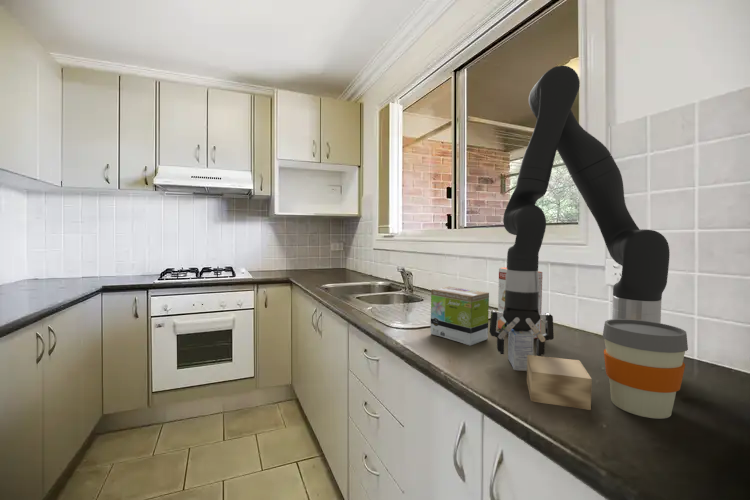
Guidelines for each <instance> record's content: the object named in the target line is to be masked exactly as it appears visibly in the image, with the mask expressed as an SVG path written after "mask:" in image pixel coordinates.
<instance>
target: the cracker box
mask: <svg viewBox="0 0 750 500" xmlns="http://www.w3.org/2000/svg"><path fill="white" fill-rule="evenodd" d="M506 273H507V266H506V267H498V295H497V296H498V297H497V299H498V300H497V301H498V302H497V303H498V304H497V309H498V310H497V312H503V311H504V309H505V281H506ZM538 275H539V303H538V312H539V314H542V306H543V305H542V302H543V272H542V271H539V270H538ZM505 322H506V320H505V319H504V317H501V318H500V320H498V321H497V329H499V330H500V329H501V328H502V326H503V325H504V324H505ZM535 326H536V327H537V328H538V330H539V331H540V332H541V333H542V319H540V320H539V321H538V322H537V323H536V325H535ZM529 331H530V333H531V334H532V335H533V337H534V340H535V339H538V337H537V336H536V335H535V333H534V332H533V331H532V330H529Z"/></svg>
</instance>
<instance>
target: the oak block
mask: <svg viewBox="0 0 750 500" xmlns="http://www.w3.org/2000/svg"><path fill="white" fill-rule="evenodd" d="M592 381H593V380H592V377H591V376H590V374H589V373H588V371H587V369H586V367H584V364H582V362H581V361H580V360H579V359H570V358H569V359H568V358H561V357H560V358H559V357H553V356H552V357H550V356H544V355H542V356H537V355H534V354H533V355H527V371H526V385H527V389H528V392H529V393H528V394H529V398H530V402H535V403H539V404H540V403H541V404H549V405H554V406H559V407H568V408H569V407H570V408H574V409H575V408H576V409H581V410H588V411H591V410H592V387H593V386H592V384H593V383H592Z"/></svg>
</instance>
